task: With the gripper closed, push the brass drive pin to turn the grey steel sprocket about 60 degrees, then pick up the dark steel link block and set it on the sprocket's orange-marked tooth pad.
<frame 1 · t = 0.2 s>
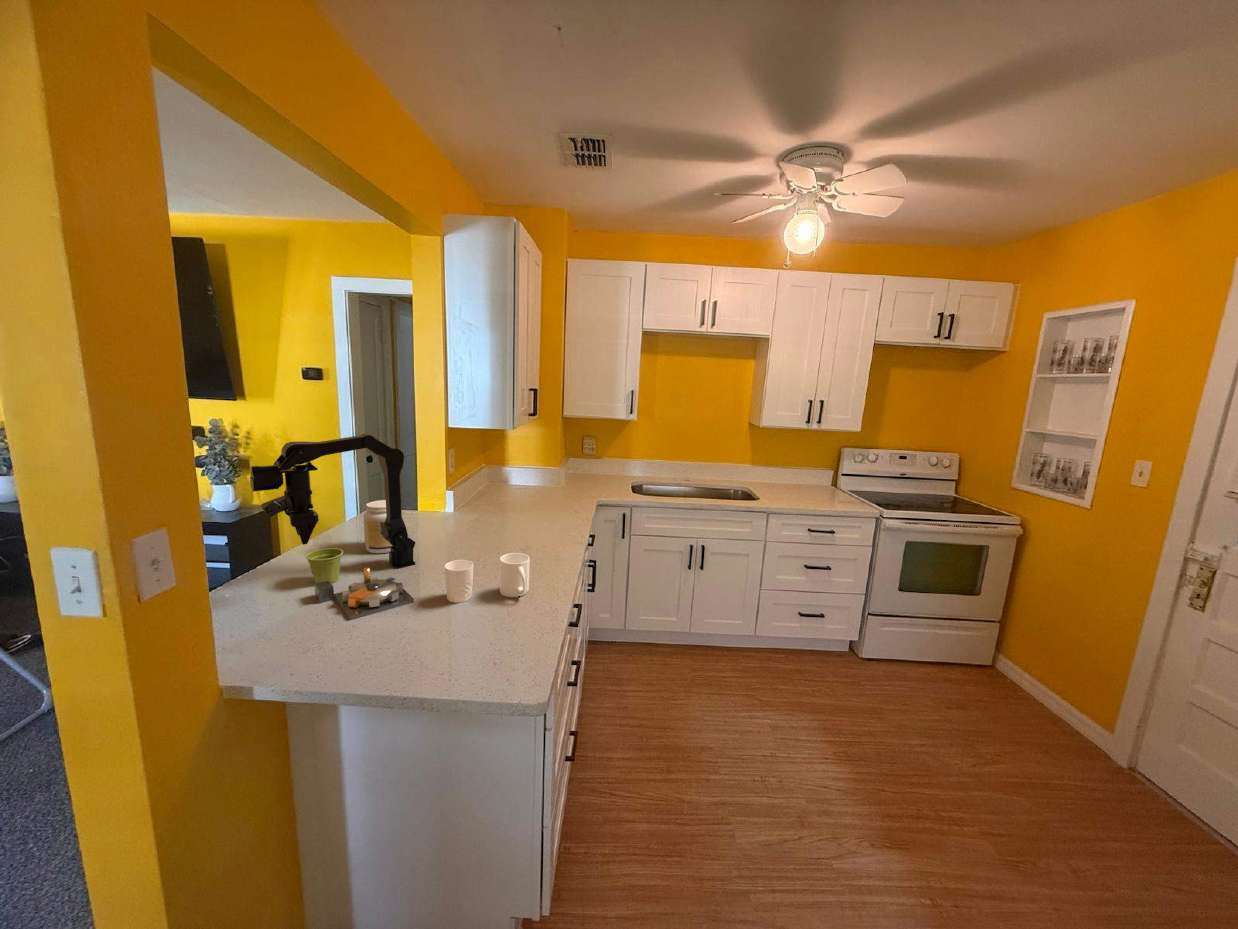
hand: (302, 539, 132), 14 cm above the countertop, fingers open, 9 cm apart
white cup: (459, 598, 133), on the countertop
mug: (516, 594, 137), on the countertop
plant pot: (326, 581, 139), on the countertop
base plate: (373, 599, 129), on the countertop
sprocket: (373, 585, 128), point 4 cm above the countertop, hinge at 0.0°
supplement tub: (384, 548, 166), on the countertop
link: (324, 598, 128), on the countertop
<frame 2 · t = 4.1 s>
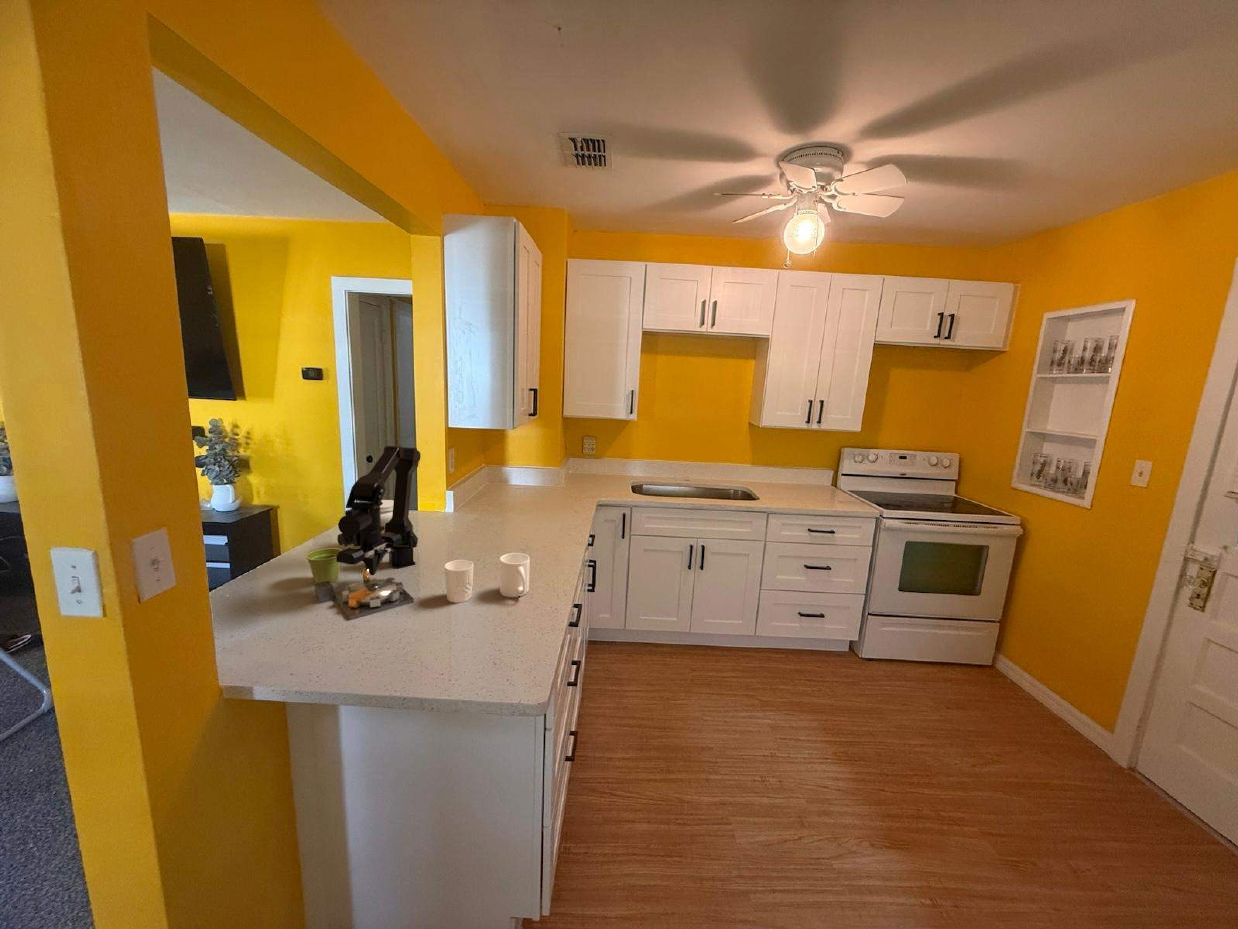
hand: (372, 575, 134), 4 cm above the countertop, fingers closed
sprocket: (373, 585, 128), point 4 cm above the countertop, hinge at 1.8°, touching gripper
everything else where it was.
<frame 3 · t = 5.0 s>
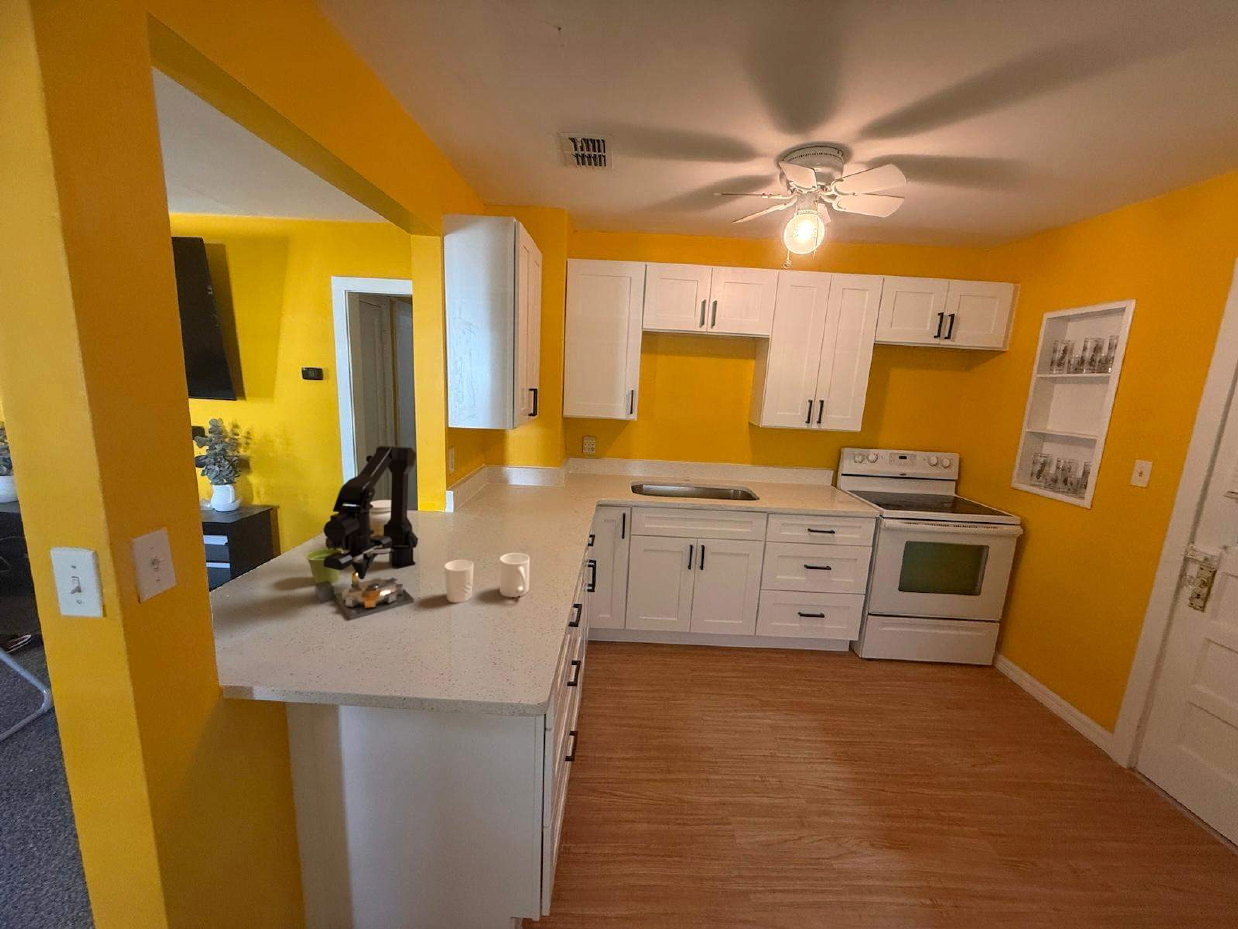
hand: (361, 579, 131), 4 cm above the countertop, fingers closed
sprocket: (373, 585, 128), point 4 cm above the countertop, hinge at 37.4°, touching gripper
everything else where it was.
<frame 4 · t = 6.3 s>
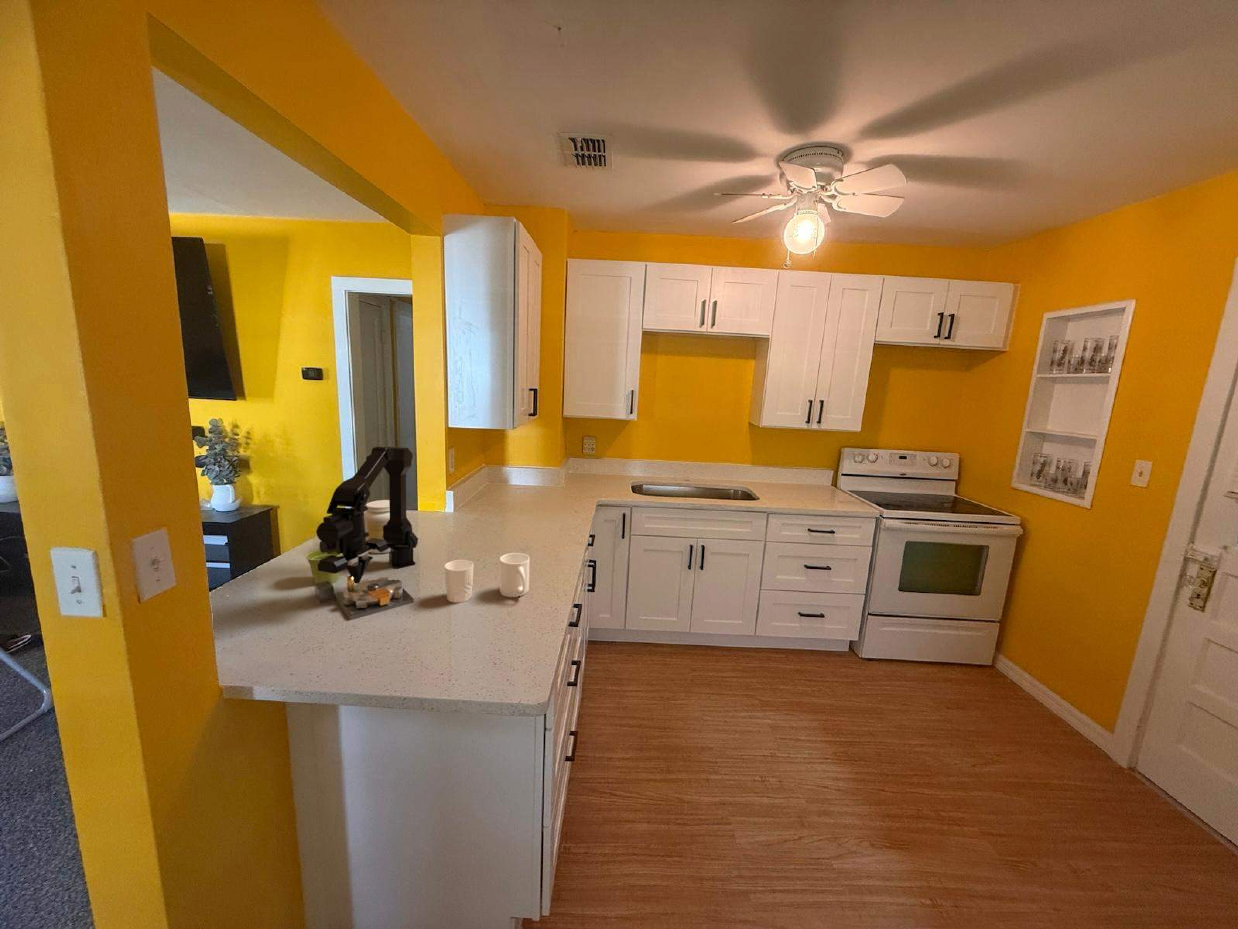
hand: (356, 583, 129), 4 cm above the countertop, fingers closed
sprocket: (373, 585, 128), point 4 cm above the countertop, hinge at 65.4°, touching gripper
everything else where it was.
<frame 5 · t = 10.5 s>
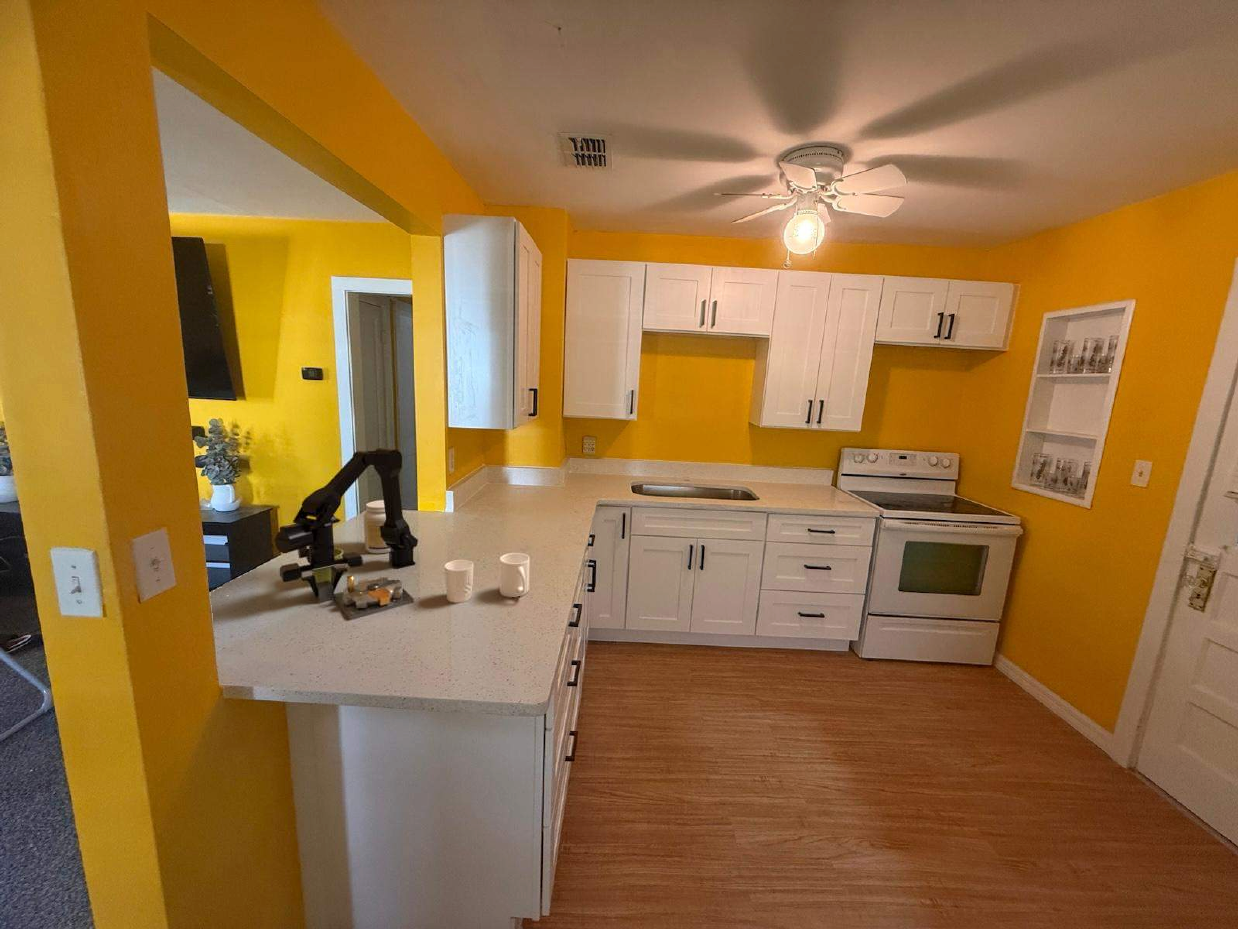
hand: (324, 594, 128), 1 cm above the countertop, fingers closed on link, 3 cm apart
sprocket: (373, 585, 128), point 4 cm above the countertop, hinge at 65.6°
link: (324, 598, 128), on the countertop, touching gripper
everything else where it was.
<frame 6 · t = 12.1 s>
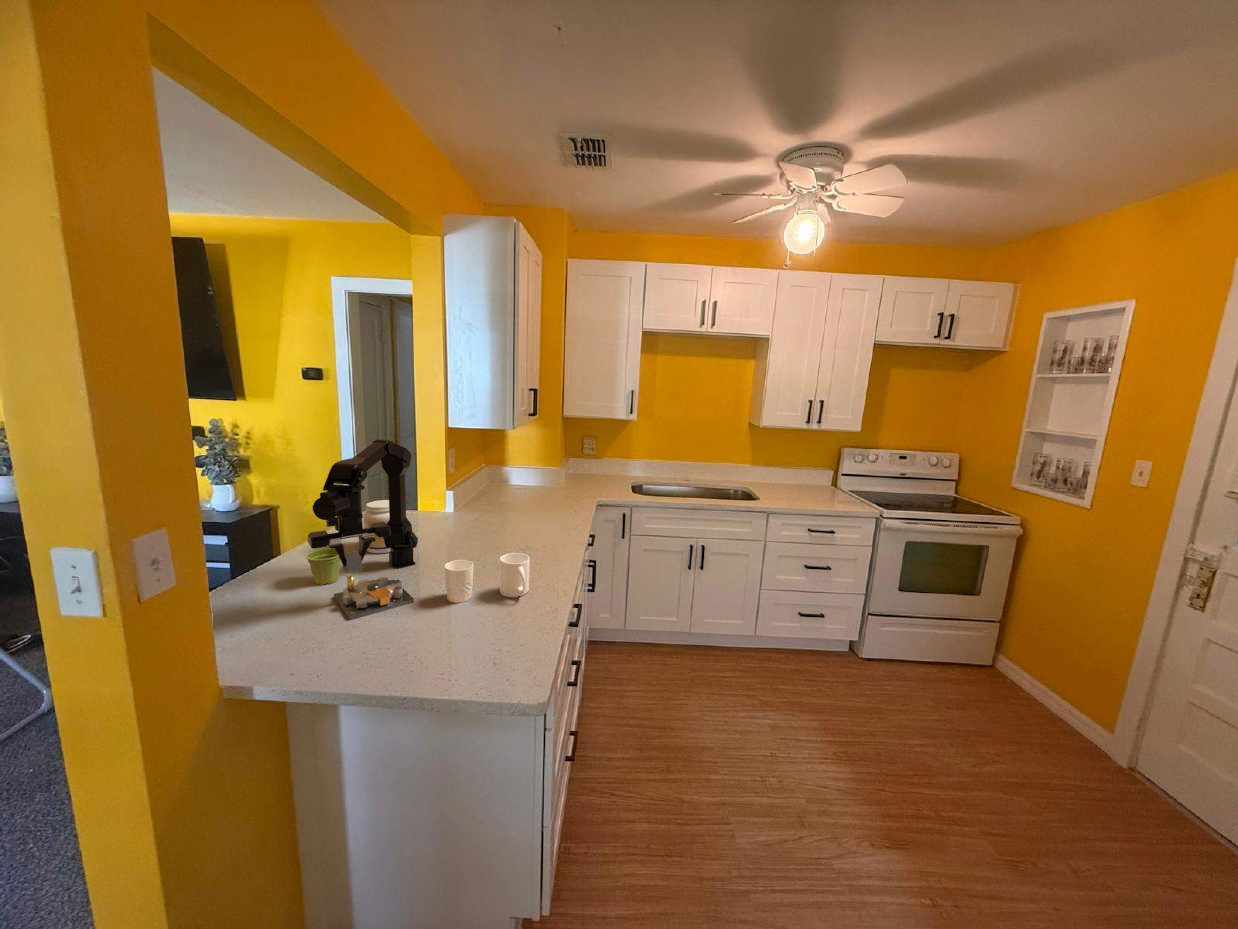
hand: (352, 564, 125), 11 cm above the countertop, fingers closed on link, 3 cm apart
link: (352, 568, 125), point 10 cm above the countertop, touching gripper
everything else where it was.
when the fingers open (6 cm above the countertop, at t = 13.7 s): link stays where it is, resting on sprocket.
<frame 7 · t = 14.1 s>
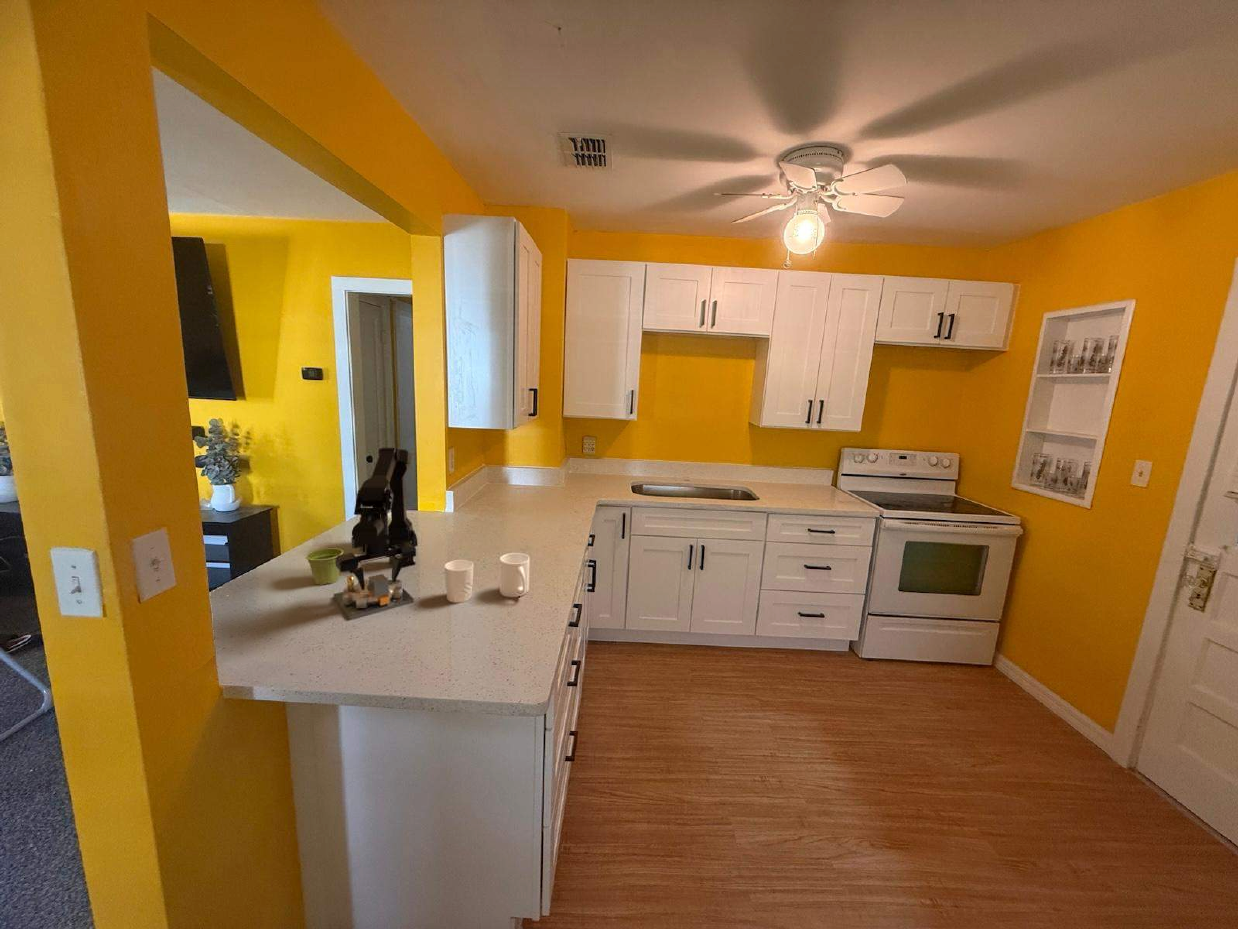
hand: (378, 585, 125), 6 cm above the countertop, fingers open, 7 cm apart
sprocket: (373, 585, 128), point 4 cm above the countertop, hinge at 65.6°, touching link
link: (378, 592, 125), point 4 cm above the countertop, touching sprocket
everything else where it was.
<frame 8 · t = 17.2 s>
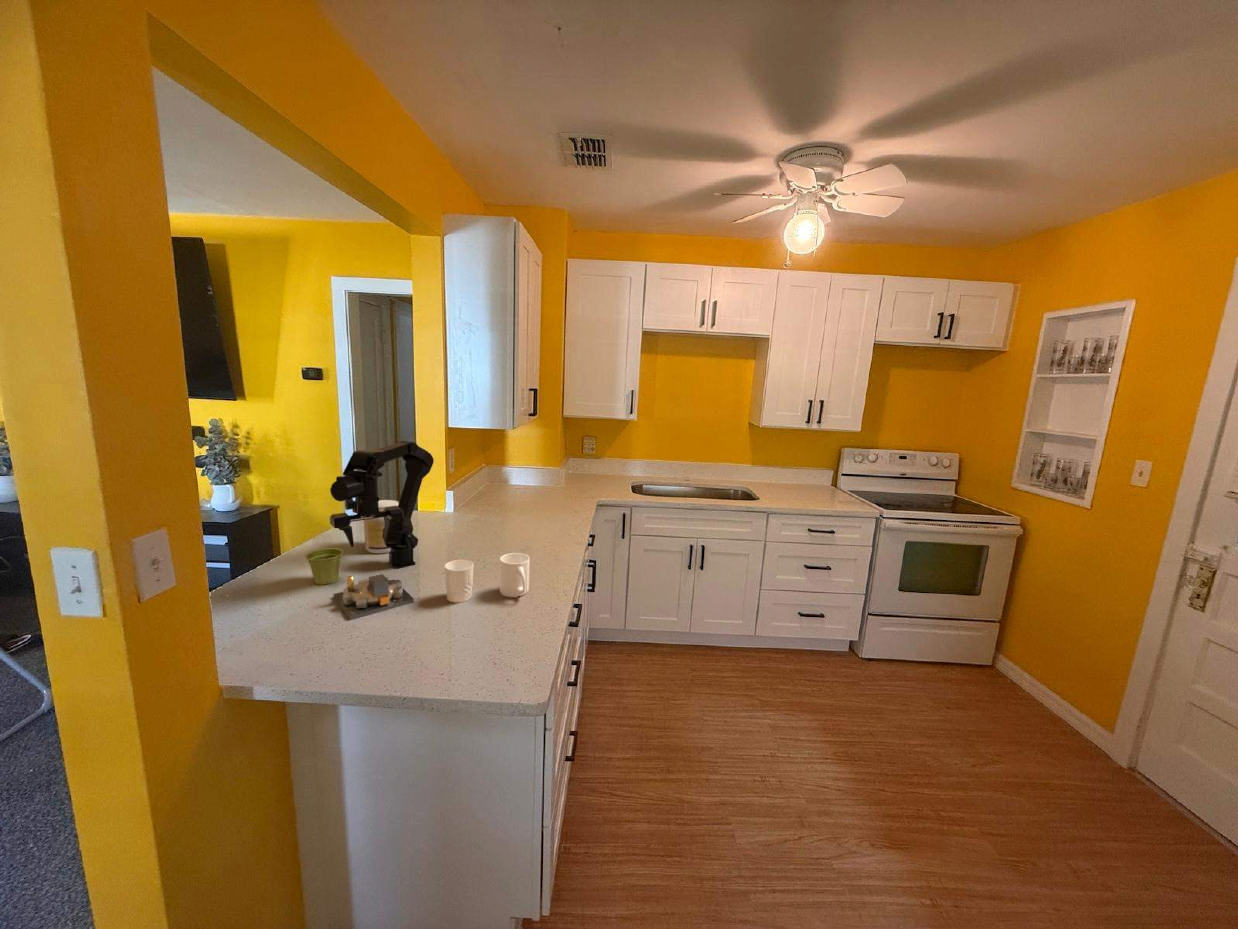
hand: (369, 543, 138), 12 cm above the countertop, fingers open, 9 cm apart
nothing on the countertop moved.
at the end: sprocket at +66° (first picture: +0°); link inside the target area (0.2 cm from its centre), point 3.7 cm above the countertop; the gripper is holding nothing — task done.
